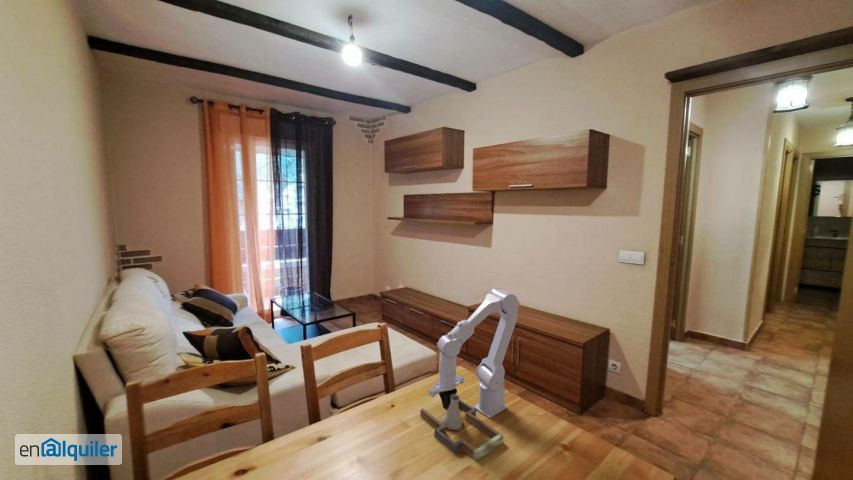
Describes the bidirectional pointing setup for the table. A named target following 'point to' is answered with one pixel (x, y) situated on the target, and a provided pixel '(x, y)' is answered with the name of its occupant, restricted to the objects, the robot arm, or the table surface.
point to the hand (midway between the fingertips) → (446, 408)
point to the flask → (453, 414)
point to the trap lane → (461, 443)
